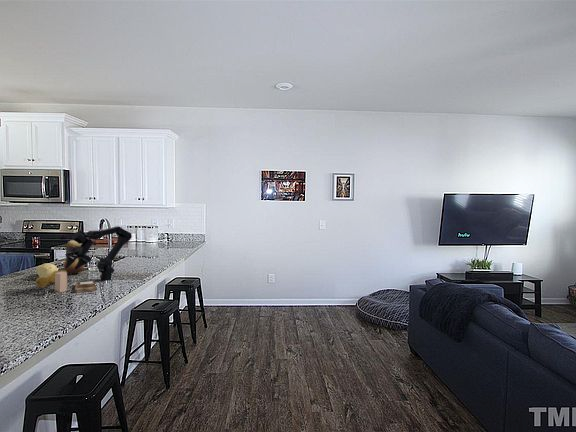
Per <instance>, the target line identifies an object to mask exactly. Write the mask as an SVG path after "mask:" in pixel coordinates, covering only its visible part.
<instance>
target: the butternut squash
mask: <svg viewBox="0 0 576 432" xmlns="http://www.w3.org/2000/svg"><path fill="white" fill-rule="evenodd" d="M81 244H82V243H81ZM81 244H79V243H77V242H76V241H74V240H73V239H72V240H69V241H68V242H67V244H66V248H65V254H66V253H67V252H70V251H67V250H68V247H69V246H70V247H75V246H81ZM72 253H73V252H72ZM73 254H74V253H73ZM65 258H66V259H65V261H64V264H63V267H64V268H63V269H64V271H66V272H67V274H70V275H74V274H79V273H81V271H83V270H84V269H85V266H86V264H85V265H83V266H81V267H80V268H78V269H77V270H74V268H75V266H76V265H77V263H78V258H77V259H76V260H75V262H73V263H72V264H71V265H70V266H69V267H68V268H65V266H66V262H67V257H66V256H65Z"/></svg>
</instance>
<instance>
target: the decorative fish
mask: <svg viewBox="0 0 576 432" xmlns="http://www.w3.org/2000/svg"><path fill="white" fill-rule="evenodd" d="M59 272H66V273H67V274H68V272H67V271H66V270H58V271H54V272H53V273H52V274H51V275H50V276H48V277H39V276H38V277H37V278H36V279H35V285H36V286H37V287H39V288H41V289H43V288H45V287H47V286H48V285H51V284H55V273H59Z"/></svg>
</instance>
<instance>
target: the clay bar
mask: <svg viewBox="0 0 576 432" xmlns="http://www.w3.org/2000/svg"><path fill="white" fill-rule="evenodd" d="M66 272H67V271H66ZM66 272H59V273H55V283H54V292H60V293H62V292H66V291H68V272H67V273H66Z"/></svg>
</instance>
